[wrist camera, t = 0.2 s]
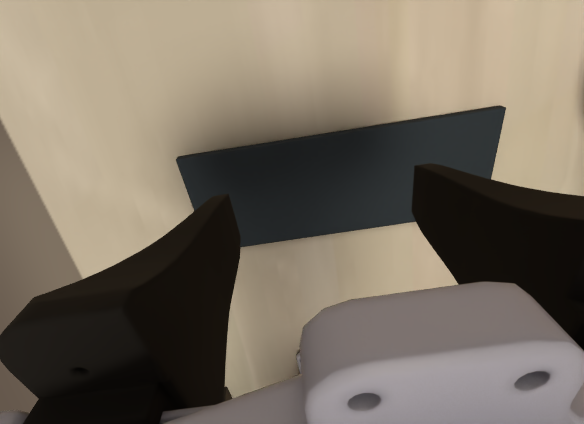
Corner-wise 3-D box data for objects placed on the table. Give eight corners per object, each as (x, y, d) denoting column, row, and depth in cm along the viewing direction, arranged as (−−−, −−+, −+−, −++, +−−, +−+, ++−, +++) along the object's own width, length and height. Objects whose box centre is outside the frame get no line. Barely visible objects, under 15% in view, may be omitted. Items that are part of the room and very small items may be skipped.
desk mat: (480, 207, 24) (484, 211, 24) (210, 247, 25) (209, 252, 25) (500, 105, 20) (506, 107, 20) (177, 156, 21) (175, 159, 21)
